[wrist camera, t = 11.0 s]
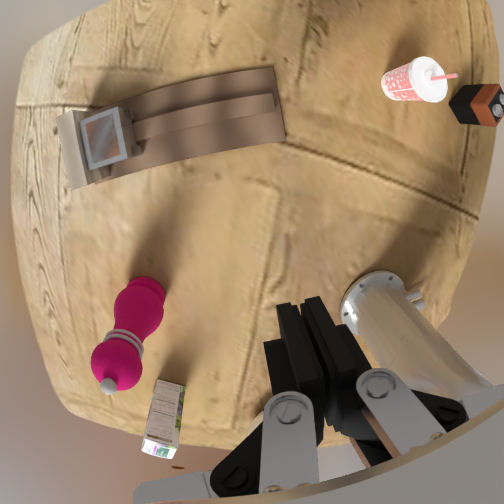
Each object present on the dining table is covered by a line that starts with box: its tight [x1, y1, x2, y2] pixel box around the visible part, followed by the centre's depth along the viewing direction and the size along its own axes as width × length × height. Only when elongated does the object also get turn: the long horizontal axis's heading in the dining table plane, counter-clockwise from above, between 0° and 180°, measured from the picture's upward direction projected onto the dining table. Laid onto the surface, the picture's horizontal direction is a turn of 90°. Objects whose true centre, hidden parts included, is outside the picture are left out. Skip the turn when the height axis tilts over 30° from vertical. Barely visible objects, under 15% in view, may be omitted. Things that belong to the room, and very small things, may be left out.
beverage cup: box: [381, 56, 458, 103], centre depth 27 cm, size 6×6×14 cm
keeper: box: [79, 107, 143, 171], centre depth 29 cm, size 5×6×6 cm
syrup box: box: [142, 379, 185, 459], centre depth 44 cm, size 6×6×14 cm
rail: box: [56, 67, 286, 191], centre depth 30 cm, size 26×10×8 cm, turn 100°
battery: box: [449, 84, 504, 127], centre depth 29 cm, size 4×7×10 cm, turn 137°
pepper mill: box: [91, 277, 165, 395], centre depth 33 cm, size 7×7×20 cm
